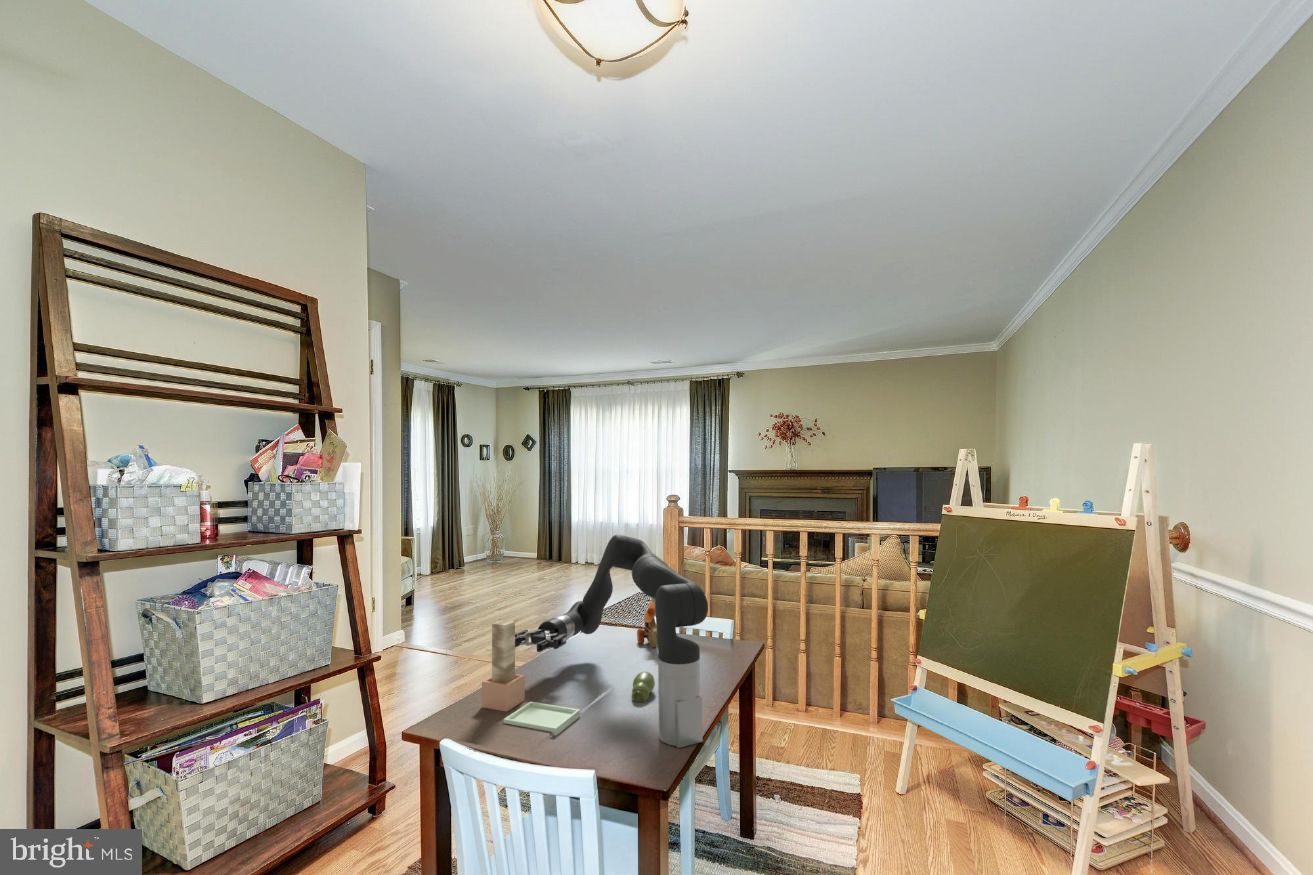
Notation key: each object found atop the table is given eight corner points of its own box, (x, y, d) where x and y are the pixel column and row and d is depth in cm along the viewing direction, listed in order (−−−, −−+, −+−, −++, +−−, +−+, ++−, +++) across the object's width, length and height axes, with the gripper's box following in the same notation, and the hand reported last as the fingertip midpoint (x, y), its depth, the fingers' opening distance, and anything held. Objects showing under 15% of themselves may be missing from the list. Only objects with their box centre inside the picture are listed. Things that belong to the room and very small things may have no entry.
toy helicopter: (659, 638, 206) (659, 598, 206) (673, 657, 185) (673, 613, 186) (636, 640, 204) (635, 600, 205) (647, 659, 184) (647, 614, 184)
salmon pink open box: (524, 703, 151) (524, 675, 151) (506, 714, 144) (506, 685, 144) (500, 699, 154) (500, 671, 154) (481, 710, 147) (481, 681, 147)
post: (514, 701, 150) (514, 621, 151) (505, 707, 146) (505, 625, 147) (501, 699, 151) (501, 619, 152) (491, 705, 148) (492, 623, 149)
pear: (656, 668, 159) (648, 689, 149) (657, 687, 160) (649, 708, 150) (636, 667, 160) (626, 687, 151) (637, 686, 161) (627, 706, 151)
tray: (580, 716, 143) (580, 709, 143) (555, 735, 132) (555, 728, 132) (530, 708, 148) (530, 701, 148) (503, 726, 138) (503, 719, 138)
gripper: (535, 615, 175) (501, 629, 160) (578, 619, 170) (547, 634, 155) (535, 641, 175) (501, 658, 160) (578, 646, 170) (547, 663, 155)
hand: (524, 646), depth 157 cm, fingers open, 8 cm apart
